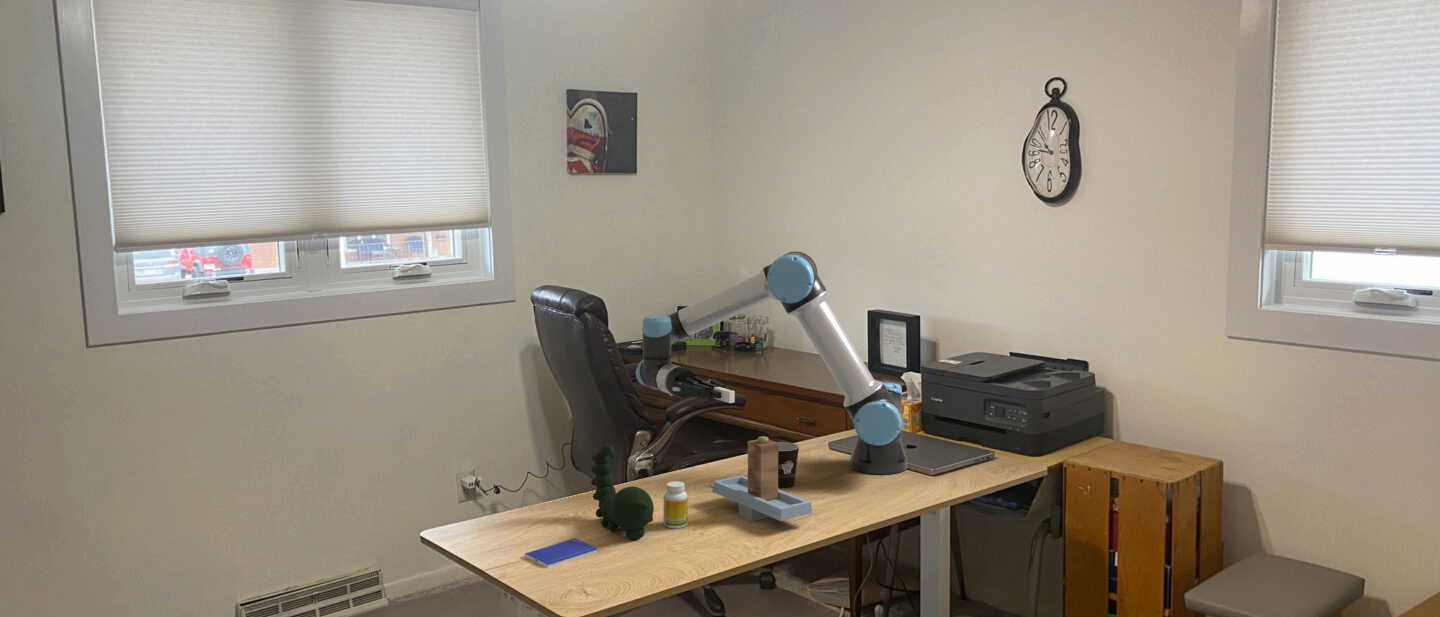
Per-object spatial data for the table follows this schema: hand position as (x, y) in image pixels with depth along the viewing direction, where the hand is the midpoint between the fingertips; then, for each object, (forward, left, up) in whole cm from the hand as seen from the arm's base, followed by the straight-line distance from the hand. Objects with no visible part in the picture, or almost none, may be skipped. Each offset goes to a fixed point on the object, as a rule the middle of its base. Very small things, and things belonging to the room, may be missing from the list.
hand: (732, 397), depth 246 cm
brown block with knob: (-6, +11, -21) cm, 25 cm away
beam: (-6, +10, -26) cm, 28 cm away
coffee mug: (-13, -13, -26) cm, 32 cm away
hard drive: (+39, +31, -27) cm, 56 cm away
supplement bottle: (+14, +15, -26) cm, 33 cm away
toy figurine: (+26, +17, -26) cm, 41 cm away
